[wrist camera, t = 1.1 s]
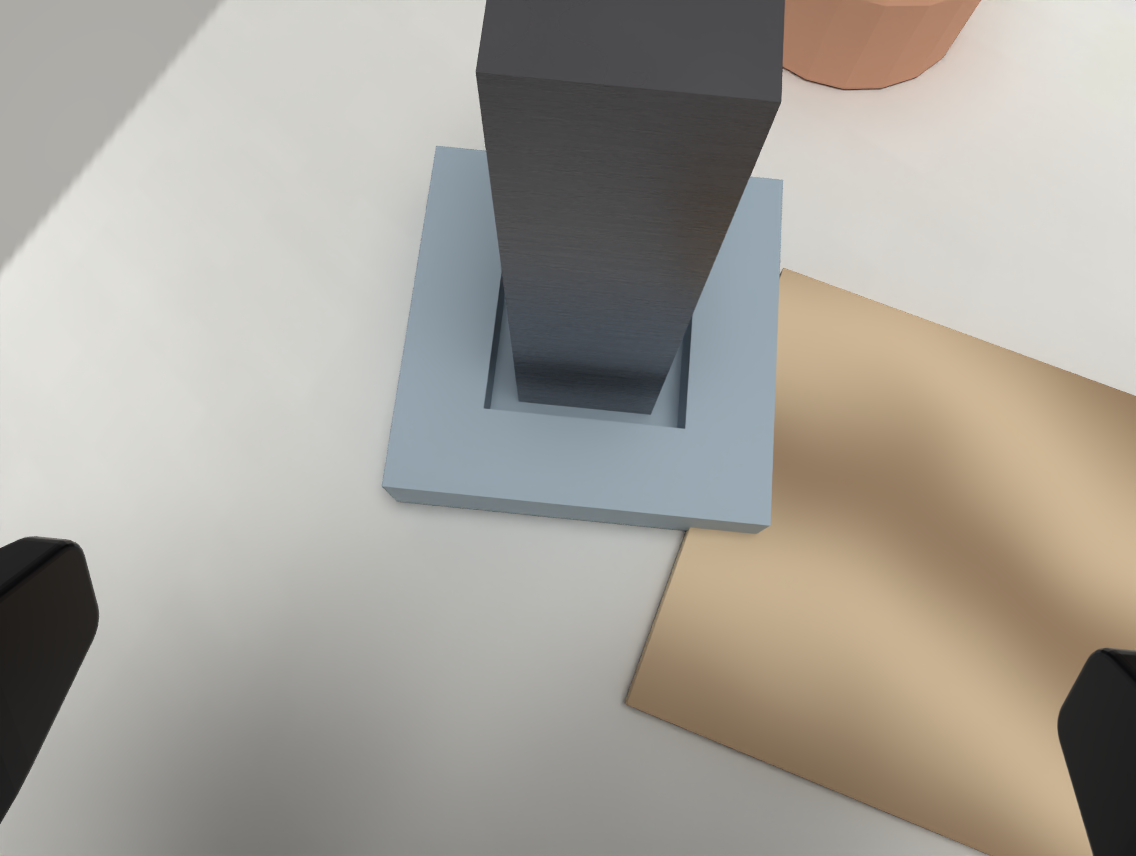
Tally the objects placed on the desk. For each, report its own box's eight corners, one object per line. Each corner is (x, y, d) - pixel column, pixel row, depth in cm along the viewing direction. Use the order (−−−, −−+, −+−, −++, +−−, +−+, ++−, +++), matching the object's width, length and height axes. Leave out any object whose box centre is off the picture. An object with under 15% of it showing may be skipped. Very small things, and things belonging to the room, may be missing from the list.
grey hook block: (650, 414, 21) (781, 101, 9) (518, 401, 21) (476, 71, 9) (667, 199, 23) (796, -309, 11) (544, 187, 23) (536, -333, 11)
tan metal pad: (1114, 906, 19) (1132, 914, 19) (624, 703, 20) (626, 704, 19) (1208, 435, 22) (1226, 429, 22) (777, 277, 23) (783, 267, 22)
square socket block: (750, 537, 21) (770, 525, 19) (396, 501, 21) (381, 486, 19) (763, 218, 23) (783, 179, 22) (445, 187, 24) (436, 145, 22)
